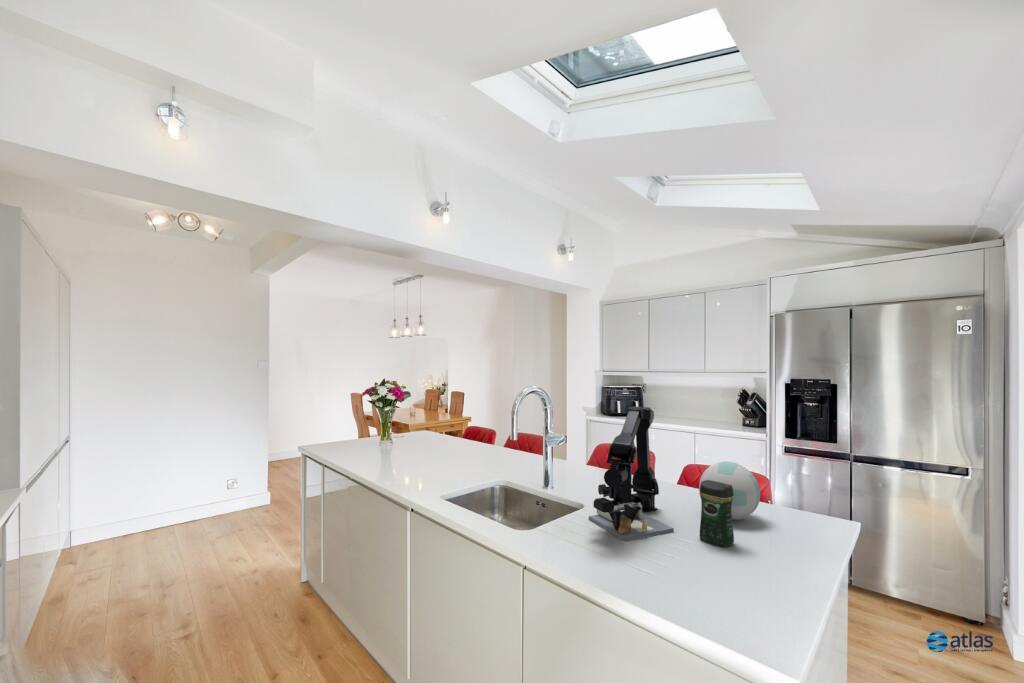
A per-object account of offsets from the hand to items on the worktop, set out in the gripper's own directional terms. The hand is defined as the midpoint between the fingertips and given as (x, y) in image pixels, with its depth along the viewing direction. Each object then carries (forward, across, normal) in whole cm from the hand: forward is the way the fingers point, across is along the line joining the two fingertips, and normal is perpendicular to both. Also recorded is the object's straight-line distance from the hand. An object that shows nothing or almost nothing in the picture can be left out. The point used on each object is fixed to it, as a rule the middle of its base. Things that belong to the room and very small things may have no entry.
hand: (621, 529), depth 147 cm
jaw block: (0, 0, 0) cm, 0 cm away
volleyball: (+2, -47, +1) cm, 47 cm away
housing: (0, -8, -14) cm, 16 cm away
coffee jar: (+2, -25, +15) cm, 29 cm away
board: (+2, -8, -6) cm, 10 cm away
